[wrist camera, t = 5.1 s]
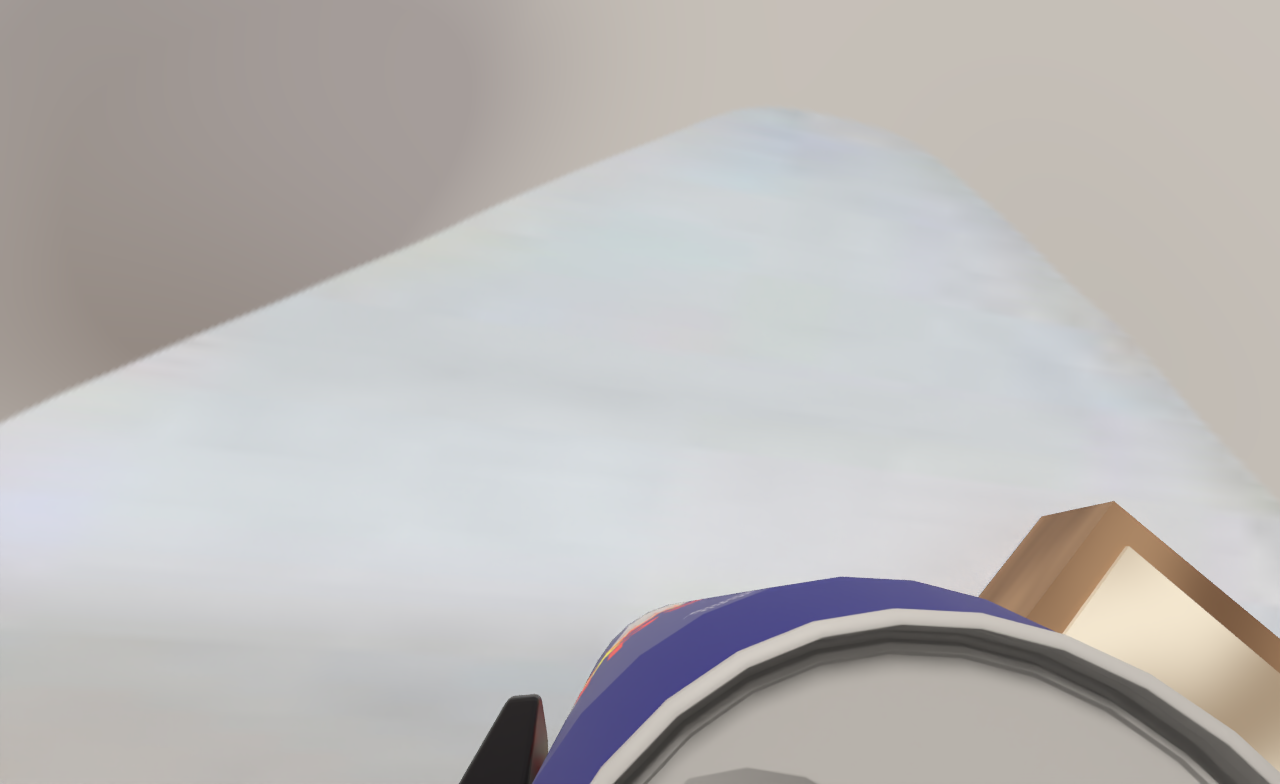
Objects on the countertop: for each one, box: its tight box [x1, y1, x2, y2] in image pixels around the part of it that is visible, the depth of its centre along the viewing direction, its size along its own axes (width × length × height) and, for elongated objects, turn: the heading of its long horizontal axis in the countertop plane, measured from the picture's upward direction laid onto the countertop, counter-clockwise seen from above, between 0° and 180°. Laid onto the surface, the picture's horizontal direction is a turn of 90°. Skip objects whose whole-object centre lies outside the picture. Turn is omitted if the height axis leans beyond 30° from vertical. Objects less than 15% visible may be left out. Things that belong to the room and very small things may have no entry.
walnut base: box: [978, 501, 1280, 772], centre depth 18 cm, size 10×10×4 cm
